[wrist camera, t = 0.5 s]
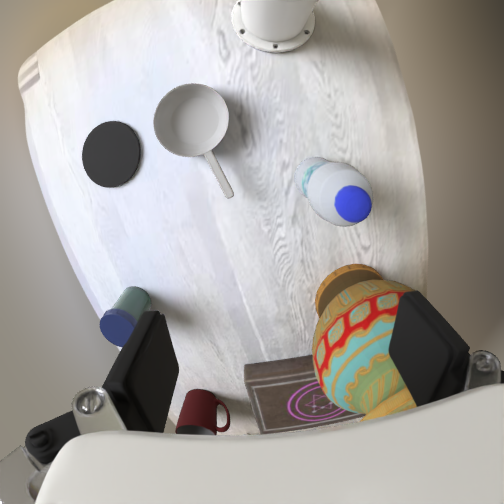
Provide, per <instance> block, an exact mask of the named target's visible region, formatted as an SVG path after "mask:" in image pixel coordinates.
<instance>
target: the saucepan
mask: <svg viewBox="0 0 504 504" xmlns="http://www.w3.org/2000/svg"><path fill="white" fill-rule="evenodd" d="M153 121H154V131H155V134H156V137H157V139H158V140H159V142H160V143H161V145H162V146H163V147H164V148H165V149H167V150H168V151H169V152H171V153H173V154H175V155H178V156H182V157H195V156H199V155H203V154H204V156H205V158H206V160H207V162H208V164H209V166H210V168H211V170H212V171H213V173H214V175H215V177H216V179H217V181H218V183H219V185H220V187H221V189H222V191H223V193H224V195H225V197H226V198H227V199H228V198H232V197H233V196H234V192H233V190H232V188H231V186H230V184H229V182H228V181H227V179H226V177H225V175H224V173H223V171H222V169H221V167H220V165H219V163H218V161H217V159H216V157H215V155H214V153H213V151H212V149H214V148H215V147H216V146H217V145H218V144H219V143H220V142H221V140H222V139H223V137H224V136H225V134H226V131H227V128H228V124H229V112H228V108H227V105H226V103H225V101H224V99H223V98H222V96H221V95H220V94H219V93H218V92H217V91H215V90H214V89H212V88H211V87H208V86H206V85H203V84H196V83H191V84H184V85H181V86H178V87H176V88H174V89H172V90H171V91H169V92H168V93H167V94H166V95H165V96H164V97H163V98H162V99H161V101H160V102H159V104H158V106H157V108H156V111H155V114H154V120H153Z"/></svg>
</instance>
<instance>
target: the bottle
mask: <svg viewBox="0 0 504 504" xmlns="http://www.w3.org/2000/svg"><path fill="white" fill-rule="evenodd" d="M295 183H296V186H297V188H298V190H299V191H300V192H301V193H302V194H303V195H304V196H305V197H306V198H308V200H309V203H310V205H311V206H312V208H313V210H314V211H315V212H316V214H317V215H319V216H320V217H321V218H323V219H325V220H327V221H329V222H331V223H332V224H334V225H337V226H344V227H346V226H352V225H355V224H357V223H359V222H360V221H362V220H364V219H365V218H367V216H368V215H369V213H370V211H371V208H372V203H373V191H372V188H371V185H370V183H369V181H368V180H367V179H366V177H365V176H363V175H362V174H361V173H360V172H359V171H358V170H357V169H355V168H354V167H353V166H351V165H349V164H346V163H340V162H330V161H328V160H326V159H324V158H320V157H311V158H308V159H305V160H303V161H302V162H301V163H300V165H299V166H298V168H297V170H296V172H295Z"/></svg>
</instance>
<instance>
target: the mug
mask: <svg viewBox="0 0 504 504" xmlns="http://www.w3.org/2000/svg"><path fill="white" fill-rule="evenodd" d="M219 404H220V405H222V406H223V407H224V408H225V410H226V413H227V424H226V425H225V426H224V427H221V428H219V427H217V406H218V405H219ZM229 427H230V414H229V411H228V409H227V407H226V405H225V404H224V403H223V402H222V401H221V400H218V399H216V397H215V396H214V395H213V394H212V393H211V392H208V391H206V390H201V389H195V390H191V391H189V392H188V393H187V394H186V397H185V400H184V403H183V406H182V409H181V412H180V415H179V419H178V422H177V426H176V434H186V435H216V434H217V431H218V432H225V431H227V430H228V429H229Z"/></svg>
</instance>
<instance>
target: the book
mask: <svg viewBox="0 0 504 504" xmlns="http://www.w3.org/2000/svg"><path fill="white" fill-rule="evenodd" d="M244 383H245V386H246V389H247V393H248V396H249V399H250V403H251V406H252V409H253V412H254V416H255V419H256V422H257V425H258V428H259V431H260V434H271V433H280V432H287V431H294V430H301V429H307V428H313V427H318V426H324V425H329V424H334V423H338V422H343V421H347V420H351V419H355V418H359V417H363V416H366V414H362V413H354V412H350V411H347V410H344V409H341V408H340V407H338V406H337V405H335V404H334V403H333V402H332V401H330V400H329V399H328V398H327V396H326V395H325V394H324V392H323V391H322V389H321V387H320V385H319V383H318V380H317V378H316V375H315V370H314V365H313V355H309V356H303V357H297V358H291V359H284V360H277V361H270V362H263V363H255V364H247V365H244Z"/></svg>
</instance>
